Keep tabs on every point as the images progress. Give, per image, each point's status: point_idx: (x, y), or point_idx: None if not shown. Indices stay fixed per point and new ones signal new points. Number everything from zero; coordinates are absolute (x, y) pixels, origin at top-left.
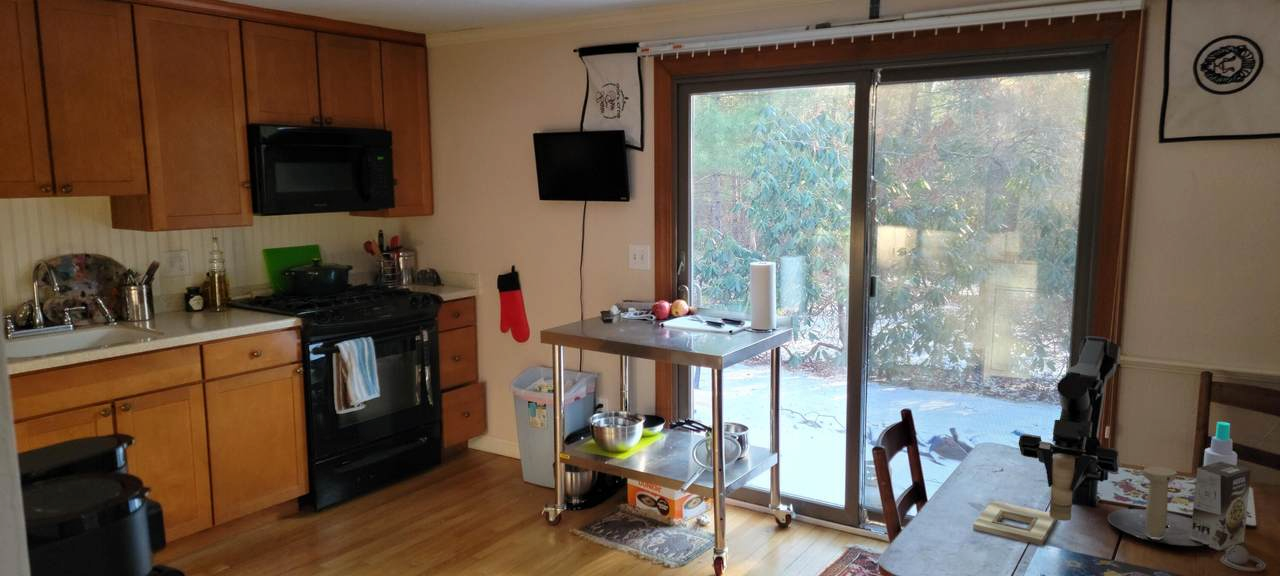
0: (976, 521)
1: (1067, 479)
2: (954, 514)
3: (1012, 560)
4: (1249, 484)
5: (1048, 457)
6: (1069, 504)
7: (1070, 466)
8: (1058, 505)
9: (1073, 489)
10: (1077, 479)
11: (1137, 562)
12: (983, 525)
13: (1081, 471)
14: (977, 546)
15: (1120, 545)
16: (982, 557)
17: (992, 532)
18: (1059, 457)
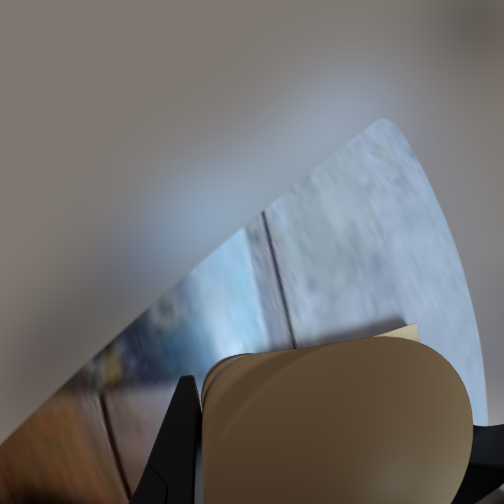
0: (417, 341)
1: (226, 375)
2: (454, 363)
3: (279, 228)
4: None
5: None
6: (204, 384)
7: (220, 407)
8: (243, 354)
9: (181, 378)
10: (166, 430)
11: (58, 410)
12: (400, 332)
13: (146, 491)
14: (361, 247)
15: (119, 485)
16: (328, 204)
17: (376, 335)
18: (410, 405)
